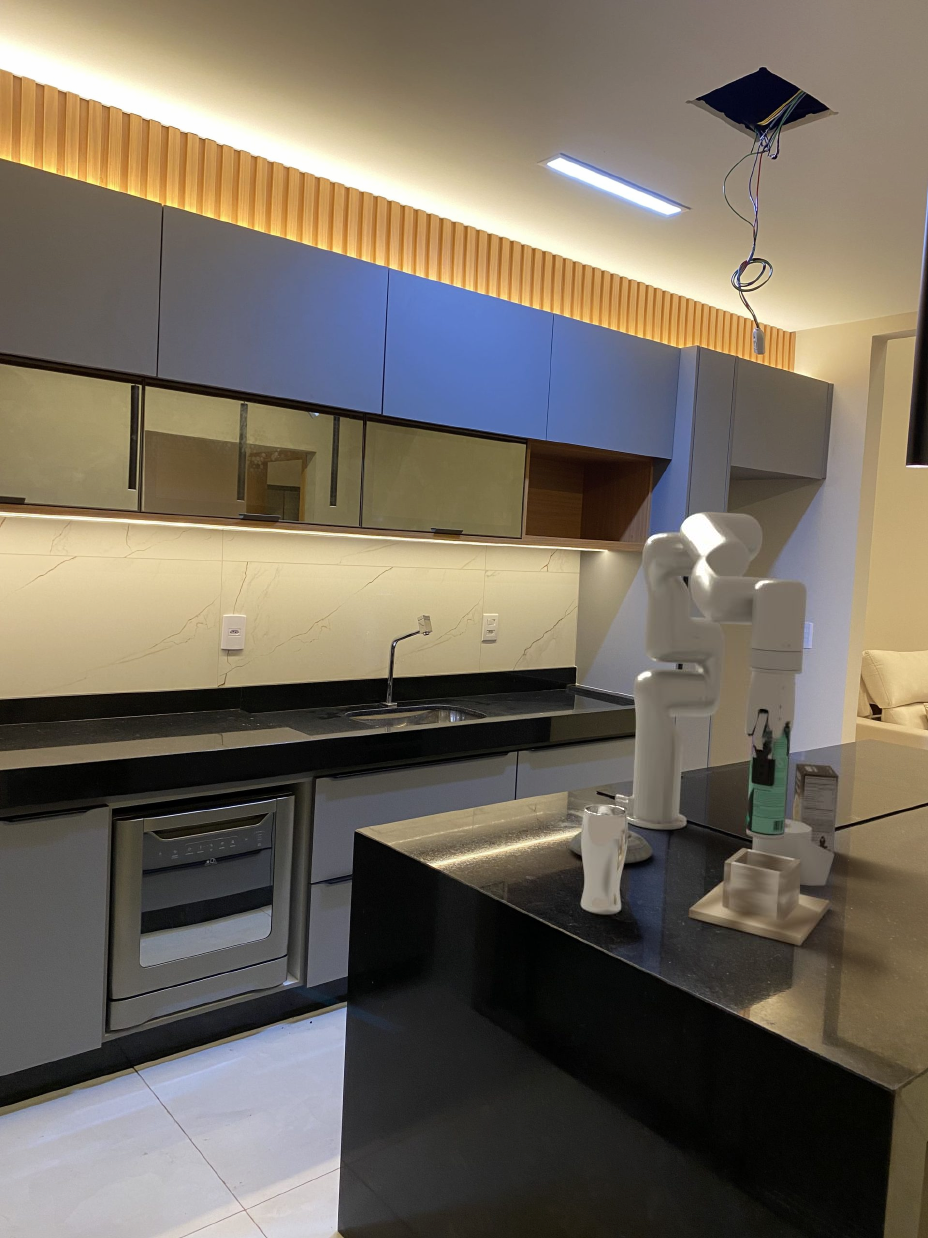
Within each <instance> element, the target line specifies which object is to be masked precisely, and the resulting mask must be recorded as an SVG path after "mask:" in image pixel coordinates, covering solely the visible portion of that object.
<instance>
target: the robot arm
mask: <svg viewBox="0 0 928 1238" xmlns="http://www.w3.org/2000/svg"><path fill="white" fill-rule="evenodd" d="M762 545H763V530H762V527H761V525H760V523H759V521H758V520H757V519H756V518H755V517H753V516H752V515H749V514H746V513H735V512H734V513H733V512H732V513H729V512H716V511H703V512H697V513H694V514H691V515H690V516H688V517H687V518H686V519H685V520H684V521H683V522H682V523H681V526H680V527H679V532H678V531H676V532H674V531H673V532H661V533H655V534H653V535H651V536H649V537H648V539H646V541H645V544H644V546H643V550H642V557H641V561H642V562H641V563H642V565H641V566H642V572H643V576H644V579H645V580H644V581H645V584H646V592H647V602H646V603H647V604H646V614H645V629H644V630H645V631H644V650H645V655H646V657H647V658H648V659H650V660H651V661H653V662H656V663H661V664H662V663H665V664H683V665H685V664H686V665H690V664H691V665H695V666H694V667H695V669H679V668H678V669H677V668H653V669H652V668H651V669H648V670H644V671H642V672H640V673H639V674H638V675H637V676H636V677H635V678H634V684H633V700H634V707H635V710H634V711H635V740H634V741H635V744H634V746H635V747H634V762H633V766H634V767H633V768H634V769H633V780H632V781H633V785H632V795H630V796H626V795H622V794H619V793H618V794H616V795H615V797H614V802H615V806H618V807H623V808H624V807H625V809H626V810H627V811H628V823H629V824H631V825H634V826H636V827H640V828H645V829H650V830H651V829H653V830H664V831H665V830H669V831H670V830H676V829H677V830H679V829H682V828H684V827H685V826H686V825H687V817H685V816H684V815H682V814H680V801H681V800H680V799H681V784H682V783H681V782H682V781H681V780H682V765H683V764H682V763H683V750H684V749H683V746H684V745H683V744H684V743H683V742H684V741H683V735H682V733H681V730H680V729H679V727H678V726H677V725H676V724H675V722H674V721H673V717H709V716H712V715H714V714H715V713H716V712H717V710H718V708H719V706H720V701H721V698H722V697H721V696H722V687H723V686H722V684H723V674H724V673H723V672H724V661H725V648H726V647H725V645H726V644H725V643H726V642H725V635H724V632H723V629H722V626H721V625H720V624H724V625H751V628H750V629H751V630H750V644H749V645H750V647H749V660H748V661H749V663H748V664H749V665H748V670H749V671H752V672H751V677H750V681H749V682H750V683H749V688H748V696H747V705H746V712H745V722H744V733H745V735H746V736H747V737H751V738H752V736H753V742H754V744H753V747H754V748H753V761H752V778H751V782H752V783H753V784H759V785H765V786H773V785H774V778H775V762H776V759H773V757H774V750H775V743H776V740H777V739H779V738H781V737H782V734H783V730H784V727H785V723H787V722H791V724H790V726H791V732H792V731H793V728H794V719H795V706H796V675H801V674H802V673H803V660H804V659H803V658H804V656H803V655H804V643H805V626H806V613H807V612H806V609H807V608H806V607H807V587H806V585H805V584H804V583H803V582H802V581H799V580H794V579H792V580H790V579H780V578H773V577H771V578H770V577H755V576H743V575H745V573H746V572H747V570H748V569H749V565H750V563H751V561H753V560H754V559H755V558H756V557H757V556H758V554H759V552H760V550H761V549H762ZM682 577H690V590H689V588H688V586H687V584H686V583H685V581H684V579H683V578H682ZM690 592H691V593H690ZM691 597H692V600H693V602H694V604H695V605H696V607H697V608H698V610H699V611H700V613H701V614H702V616H703V617H691V615H690V611H691ZM755 726H756V728H755ZM753 730H755V731H753ZM753 733H754V734H753ZM765 733H766V734H772V735H771V736H772V738H771V737H765ZM752 734H753V735H752ZM766 742H770V745H769V748H768V744H767V743H766Z"/></svg>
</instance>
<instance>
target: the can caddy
mask: <svg viewBox="0 0 928 1238" xmlns="http://www.w3.org/2000/svg"><path fill="white" fill-rule="evenodd" d="M801 861H802V860H799V859H794V858H789V857H784V856H779V855H774V854H770V853H765V852H760V851H755V850H752V849H749V848H745V847H742V848H740V850H738V851H736V852H735V853H734V854H733V855H731V857H729V858H727V859H726V860H725V861H724V867H723V870H724V871H723V881H722V882H720V883H719V884H718V885H716V886H715V887H714V888H713V889H711V891H710V892H708V893H706V895H704V896H703V897H702V898H701V899H700V900H698V901H697V902H696V903H695V904H693V906H691V907H690V908H689V909H688V918H691V919H695V920H699V921H703V922H707V923H711V924H715V925H717V926H722V927H727V928H729V929H734V930H737V931H742V932H744V933H749V934H754V935H757V936H760V937H766V938H768V939H773V940H777V941H779V942H780V941H781V942H785V943H788V944H791V945H796V946H801V945H802V944H803V942H804V941H805V940H806V939H807V937H808V936H809V935H810V933H812V931H813V930H814V928H815V927H816V926H817V925H818V923H819V922H820V920H821V919H822V918H823V916H824V915H825V914H826V913H827V912H828V910H829V909H830V900H828V899H827V900H826V899H823V898H819V897H814V896H810V895H805V894H801V893H800V891H801V890H800V889H801V884H800V876H801Z"/></svg>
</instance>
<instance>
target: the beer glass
mask: <svg viewBox="0 0 928 1238" xmlns="http://www.w3.org/2000/svg"><path fill="white" fill-rule="evenodd" d="M628 823H629V822H628V811H627V808H624V807H622V806H618V805H615V804H614V805H613V804H603V803H602V804H601V803H597V804H596V803H594V804H588V805H586V806H584V808H583V814H582V823H581V831H582V832H581V831H580V832H581V849H582V856H581V857H582V858H581V859H582V865H583V875H584V877H583V878H584V885H583V892H582V895H581V900H580V907H581V908H582V909H583V910H585V911H587V912H589V913H592V914H595V915H614V914H618V913H619V912H620V911H621V910H622V902H621V901H622V900H621V895H620V894H621V892H620V887H621V877H622V873H623V869H624V865H625V863H624V861H625V856H626V851H627V842H628V830H629V825H628Z"/></svg>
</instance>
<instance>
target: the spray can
mask: <svg viewBox="0 0 928 1238" xmlns="http://www.w3.org/2000/svg"><path fill="white" fill-rule="evenodd" d="M790 724H791V722H787V723H785V727H784V730H783V734H782V737H781V738H779V739H777V740H776V743H775V750H774V757H773V759H776V762H775V778H774V785H773V786H765V785H759V784H753V783H752V782H751V778H752V761H753V748H754V747H753V744H754V742H753V736H751V747H750V748H751V749H750V763H749V764H750V765H749V781H748V796H747V813H746V814H747V816H746V831H745V832H746V834H747V836H750V837H752V838H753V837H755V838H759V839H764V840H781V839H783V838H784V833H785V819H786V816H787V813H786V812H787V798H788V784H789V783H788V781H789V765H790V749H791V735H792V731H791V726H790ZM755 728H756V726H755ZM753 731H755V730H753ZM753 734H754V733H753ZM753 734H752V735H753ZM771 735H772V734H766V733H765V737H771V738H772V736H771ZM766 743H767V744H768V748H769V745H770V742H766Z"/></svg>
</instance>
